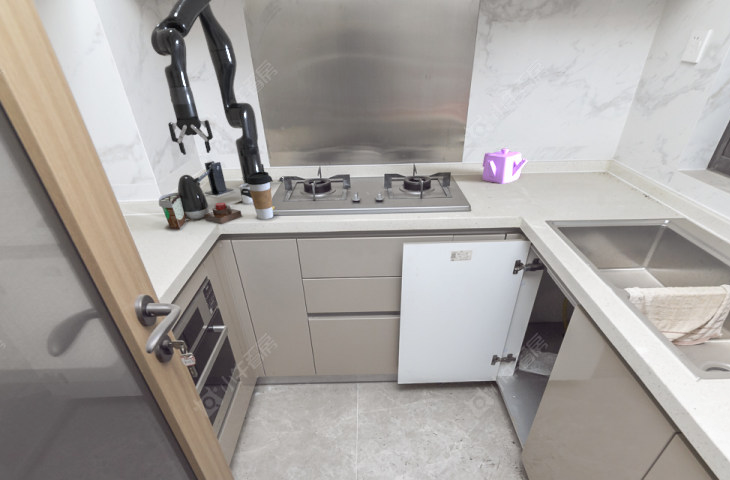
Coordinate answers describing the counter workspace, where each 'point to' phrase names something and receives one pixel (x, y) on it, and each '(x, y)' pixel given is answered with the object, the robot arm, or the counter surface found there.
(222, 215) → the button block
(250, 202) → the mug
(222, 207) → the button
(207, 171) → the tap lever
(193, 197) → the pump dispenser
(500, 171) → the teakettle
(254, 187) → the coffee cup
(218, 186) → the tap bracket
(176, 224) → the food container
